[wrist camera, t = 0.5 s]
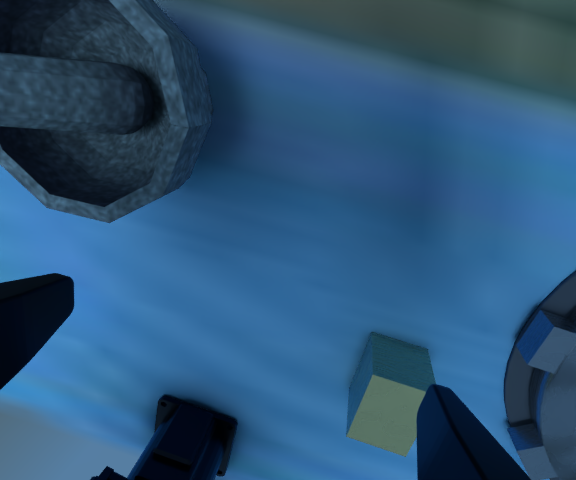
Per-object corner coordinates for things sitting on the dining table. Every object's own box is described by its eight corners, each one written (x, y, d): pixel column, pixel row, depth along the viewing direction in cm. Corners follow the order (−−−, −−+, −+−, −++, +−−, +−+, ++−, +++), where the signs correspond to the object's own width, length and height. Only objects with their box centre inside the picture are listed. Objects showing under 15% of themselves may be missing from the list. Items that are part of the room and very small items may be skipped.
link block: (399, 403, 25) (405, 456, 21) (349, 387, 25) (346, 436, 22) (427, 348, 23) (438, 395, 19) (371, 330, 23) (372, 374, 20)
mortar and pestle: (255, 18, 18) (85, -100, 7) (235, 198, 22) (103, 304, 11) (52, -16, 19) (-362, -160, 8) (65, 160, 23) (-207, 220, 12)
